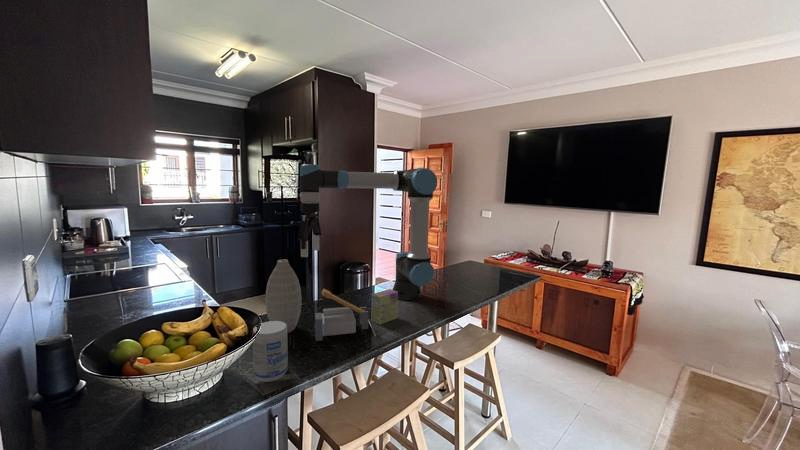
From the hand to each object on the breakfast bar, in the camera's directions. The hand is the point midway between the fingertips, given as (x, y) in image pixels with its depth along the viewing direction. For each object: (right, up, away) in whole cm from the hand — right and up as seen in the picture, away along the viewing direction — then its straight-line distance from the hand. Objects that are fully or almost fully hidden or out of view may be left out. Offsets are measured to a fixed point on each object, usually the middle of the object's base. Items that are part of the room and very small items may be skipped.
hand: (310, 253), depth 136 cm
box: (+31, -29, +2) cm, 42 cm away
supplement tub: (-1, -33, -39) cm, 51 cm away
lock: (+8, -29, -17) cm, 35 cm away
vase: (-7, -29, -11) cm, 32 cm away
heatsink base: (+14, -29, -10) cm, 34 cm away
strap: (+16, -19, -11) cm, 27 cm away
